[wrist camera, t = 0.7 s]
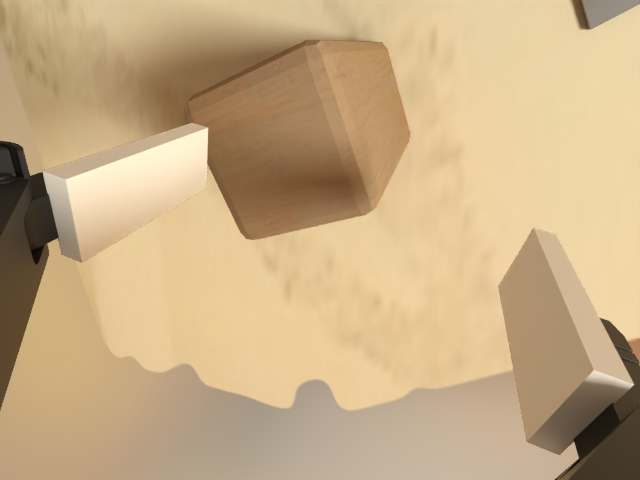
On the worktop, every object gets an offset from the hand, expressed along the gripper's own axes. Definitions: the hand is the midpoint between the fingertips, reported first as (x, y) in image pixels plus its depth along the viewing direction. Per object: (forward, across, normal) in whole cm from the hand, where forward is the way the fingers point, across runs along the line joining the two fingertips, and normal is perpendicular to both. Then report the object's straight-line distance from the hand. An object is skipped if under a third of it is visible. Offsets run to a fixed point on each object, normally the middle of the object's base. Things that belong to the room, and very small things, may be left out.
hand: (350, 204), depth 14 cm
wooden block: (+26, -6, -2) cm, 27 cm away
